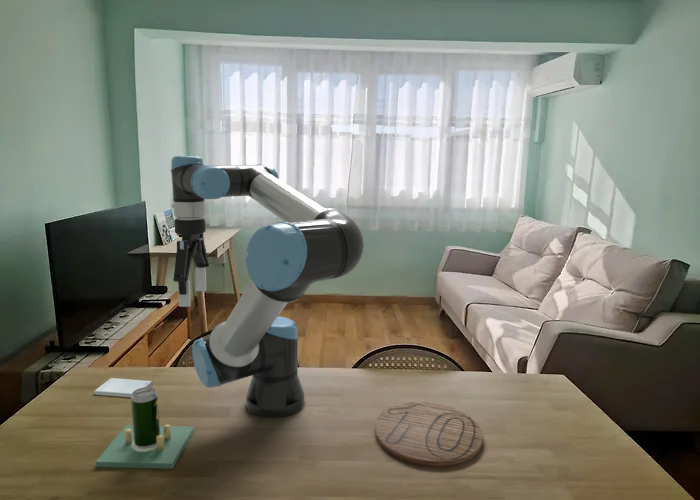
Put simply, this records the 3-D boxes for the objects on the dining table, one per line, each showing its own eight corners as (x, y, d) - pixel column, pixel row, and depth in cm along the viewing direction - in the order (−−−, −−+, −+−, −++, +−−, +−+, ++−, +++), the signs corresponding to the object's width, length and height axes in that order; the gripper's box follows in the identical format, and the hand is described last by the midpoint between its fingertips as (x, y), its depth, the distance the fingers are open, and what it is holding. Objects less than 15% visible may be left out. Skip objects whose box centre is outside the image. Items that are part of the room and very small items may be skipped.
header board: (194, 431, 118) (193, 414, 117) (172, 468, 104) (171, 450, 103) (126, 429, 118) (125, 413, 117) (96, 466, 104) (94, 448, 103)
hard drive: (153, 380, 140) (111, 377, 142) (137, 394, 132) (93, 390, 134) (153, 385, 141) (112, 382, 142) (137, 399, 133) (94, 396, 134)
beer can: (137, 452, 107) (133, 400, 104) (132, 440, 111) (128, 390, 109) (163, 444, 110) (159, 394, 107) (157, 433, 114) (154, 384, 112)
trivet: (360, 453, 111) (360, 446, 110) (390, 401, 134) (390, 395, 133) (476, 480, 102) (476, 472, 102) (486, 419, 126) (487, 413, 125)
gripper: (190, 211, 139) (194, 284, 143) (155, 224, 114) (161, 313, 119) (217, 211, 139) (220, 285, 143) (188, 225, 114) (192, 313, 119)
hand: (193, 298), depth 131 cm, fingers open, 13 cm apart
